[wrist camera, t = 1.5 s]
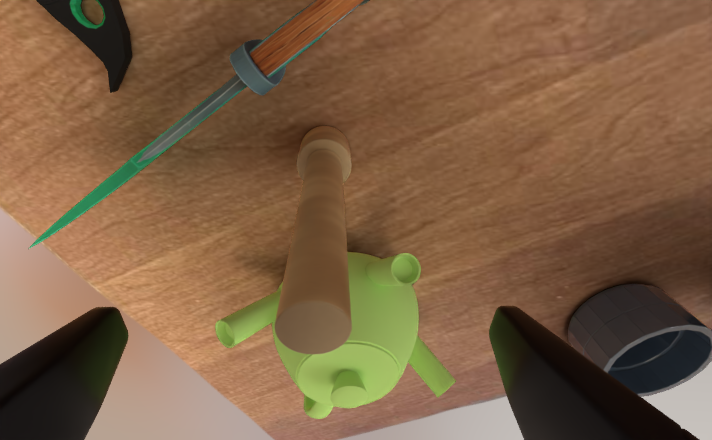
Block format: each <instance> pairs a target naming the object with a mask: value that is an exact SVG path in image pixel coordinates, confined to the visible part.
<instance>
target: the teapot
mask: <svg viewBox="0 0 712 440" xmlns="http://www.w3.org/2000/svg"><path fill="white" fill-rule="evenodd" d="M347 255H348V271H349V288H350V304H351V321H352V330H351V334H350V336H349V338H348V339H347V341H346V342H345V343H344V344H343V345H342V346H340V347H339V348H337V349H335V350H333V351H330V352H327V353H323V354H303V353H299V352H296V351H293V350H291V349H289V348H287V347H286V346H285V345H283V344H282V343H281V342H280V340H279V339H278V337H277V335H276V333H275V320H276V315H277V310H278V305H279V300H280V295H281V290H282V285H283V282H282V283H281V284H280V286H279V288H278V290H277V291H276V292H274V293H272V294H270V295H268V296H266V297H264V298H262V299H261V300H259V301H257V302H255V303H253V304H251V305H249V306H247V307H245V308H243V309H241V310H239V311H237V312H235V313H233V314H231V315H229V316H227V317H225V318H223V319H221V320H219V321H217V323H216V325H215V330H216V334H217V337H218V339H219V340H220V342H221V343H222V344H223V345H224V346H225V347H227V348H232V347H234V346H235V345H237V344H238V343H240V342H242V341H243V340H245V339H246V338H248V337H250V336H251V335H253V334H254V333H256V332H258V331H259V330H261V329H262V328H264V327H266V326H267V325H269V324H271V323H272V331H273V337H274V341H275V345H276V348H277V351H278V353H279V356H280V358H281V360H282V362H283V364H284V366H285V368H286V369H287V371H288V373H289V374H290V376H291V378H292V379H293V381H294V382H295V384H296V385H297V386H298V388H299V389H300V390H301V391H302V392H303V393H304V394H305V396H304V410H305V413H306V414H307V415H308V416H310V417H312V418H315V419H322V418H324V417H326V416H327V415H328V414H329V413H330V412H331V410H332V408H333V406H335V407H341V408H354V407H358V406H361V405H365V404H368V403H371V402H374V401H376V400H378V399H380V398H382V397H383V396H385V395H386V394H387V393H388V392H390V391H391V390H392V389H393V388H394V386H395V385H396V384H397V382H398V380H399V379H400V377H401V376H402V374H403V372H404V370H405V367H406V365H407V363H408V362H409V364H410V365H411V366H412V367H413V368H414V370H415V371H416V372H417V373H418V374H419V376H420V377H421V378H422V379H423V380H424V382H425V383H426V384H427V385H428V386H429V388H430V389H431V390H432V391H433V392H434V394H435V395H436V396H437V397H440V396H441V395H442V394H443V393H444V392H445V391H446V390H447V389H448V388H450V387H451V386H452V385H453V384H454V383H455V382H456V380H455V379H454V378H453V377H452V375H451V374H450V373H449V372H448V371H447V369H446V368H445V367H444V366H443V365H442V364H441V362H440V361H439V360H438V359H437V358H436V356H435V355H434V354H433V353H432V352H431V351H430V349H429V348H428V347H427V346H426V345H425V343H424V342H423V341H422V340H421V339H420V338H419V336H418V335H417V333H418V323H419V314H418V302H417V298H416V295H415V291H414V289H413V286H412V284H414V283H415V282H416V281H417V280H418V279H419V276H420V273H421V267H420V263H419V261H418V260H417V258H416V257H415V256H413V255H412V254H409V253H402V254H398V255H395V256H391V257H388V258H384V259H380V258H378V257H375V256H372V255H368V254H363V253H357V252H347Z"/></svg>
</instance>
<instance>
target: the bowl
mask: <svg viewBox="0 0 712 440" xmlns="http://www.w3.org/2000/svg"><path fill="white" fill-rule="evenodd" d="M568 341H569V342H570V344H571V345H572V347H573V348H574V349H575V350H577V351H578V352H580V353H581V354H582V355H584V356H585V357H586V358H588V359H589V360H591V361H592V362H593V363H595V364H596V365H597V366H599V367H600V368H602V369H603V370H604V371H606V372H607V373H608V374H610V375H611V376H613V377H614V378H615V379H617V380H618V381H619V382H621V383H622V384H623V385H625V386H626V387H628V388H629V389H630V390H632V391H633V392H634V393H636V394H637V395H639V396H640V397H642V396H649V395H653V394H656V393H660V392H663V391H666V390H669V389H671V388H673V387H676V386H678V385H680V384H682V383H684V382H686V381H688V380H689V379H691V378H692V377H694V376H695V375H697V374H698V373H699V372H701V371H702V370H703V369H704V368H705V367H706V366H707V365H708V364H709V363H710V362H711V361H712V329H711V328H709V327H708V326H707V325H706V324H704V323H703V322H702V321H701V320H699V319H698V318H697V317H696V316H694V315H693V314H692V313H691V312H689V311H688V310H687V309H686V308H684V307H683V306H682V305H681V304H679V303H678V302H677V301H676V300H674V299H673V298H672V297H671V296H669V295H668V294H667V293H666V292H664V291H663V290H661V289H660V288H658V287H655V286H649V285H642V284H625V285H620V286H616V287H612V288H609V289H607V290H604V291H602V292H600V293H598V294H596V295H595V296H593V297H591V298H590V299H589V300H587V301H586V302H585V303H584V304H582V305H581V306H580V307H579V308H578V309H577V311H576V312H575V313H574V315H573V316H572V318H571V320H570V323H569V328H568Z"/></svg>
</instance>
